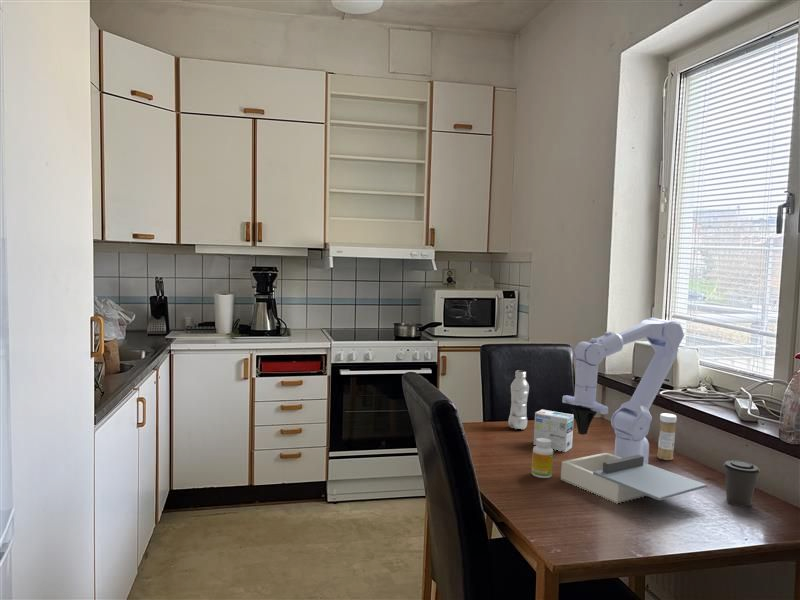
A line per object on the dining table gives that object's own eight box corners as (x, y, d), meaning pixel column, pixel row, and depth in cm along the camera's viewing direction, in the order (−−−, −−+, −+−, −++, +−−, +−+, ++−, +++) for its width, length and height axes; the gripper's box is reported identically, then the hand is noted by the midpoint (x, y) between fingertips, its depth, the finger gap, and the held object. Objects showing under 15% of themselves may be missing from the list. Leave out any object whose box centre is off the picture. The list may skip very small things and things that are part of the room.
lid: (640, 463, 164) (640, 452, 164) (706, 487, 149) (707, 474, 149) (593, 474, 154) (593, 462, 154) (659, 500, 139) (660, 487, 139)
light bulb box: (572, 448, 193) (574, 414, 192) (565, 453, 187) (568, 418, 187) (539, 441, 199) (541, 408, 198) (532, 446, 193) (534, 412, 192)
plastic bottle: (508, 430, 209) (511, 372, 208) (507, 425, 216) (511, 369, 214) (527, 432, 208) (530, 374, 207) (526, 427, 215) (530, 370, 213)
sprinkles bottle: (661, 454, 190) (665, 412, 189) (676, 459, 186) (679, 415, 185) (654, 457, 187) (657, 413, 186) (668, 461, 183) (672, 417, 182)
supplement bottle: (552, 479, 164) (554, 443, 163) (531, 477, 165) (533, 441, 164) (551, 472, 169) (553, 438, 168) (531, 470, 170) (533, 436, 169)
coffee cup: (760, 510, 149) (764, 470, 148) (722, 504, 151) (726, 465, 151) (753, 499, 156) (757, 460, 156) (718, 493, 159) (721, 455, 158)
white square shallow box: (605, 469, 173) (606, 452, 173) (662, 491, 158) (664, 472, 158) (560, 479, 164) (561, 461, 163) (617, 504, 149) (618, 484, 148)
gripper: (556, 381, 174) (552, 428, 175) (597, 392, 162) (593, 442, 163) (573, 379, 178) (570, 425, 179) (614, 390, 166) (611, 439, 167)
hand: (582, 433), depth 171 cm, fingers closed
